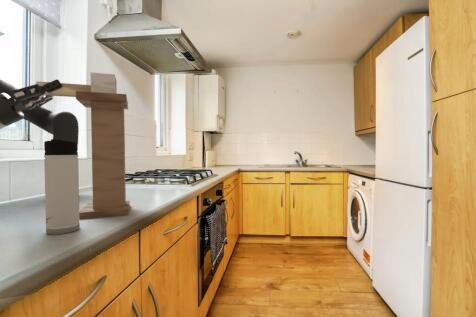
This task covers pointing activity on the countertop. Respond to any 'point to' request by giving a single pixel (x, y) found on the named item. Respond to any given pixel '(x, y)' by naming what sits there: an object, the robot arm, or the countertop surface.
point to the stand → (106, 154)
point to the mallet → (87, 86)
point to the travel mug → (61, 186)
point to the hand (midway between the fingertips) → (62, 84)
